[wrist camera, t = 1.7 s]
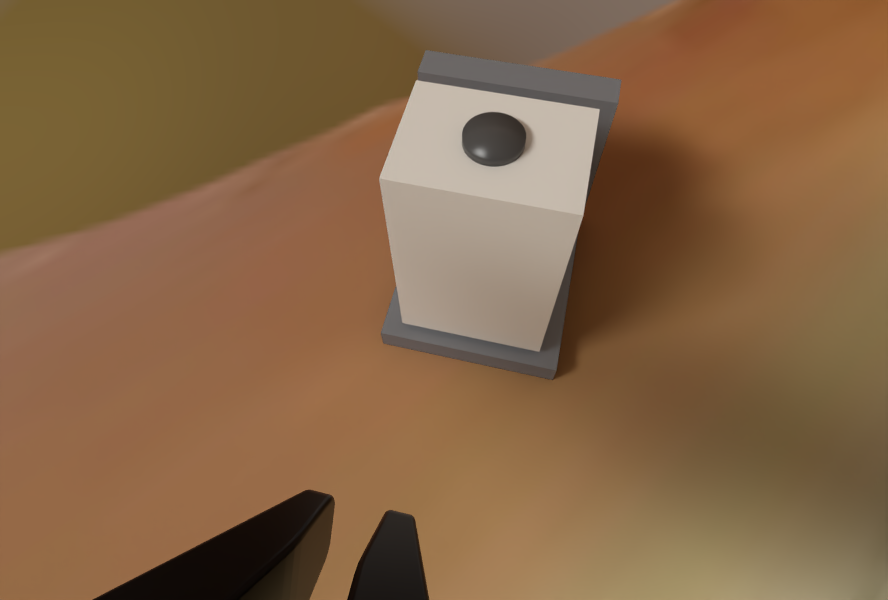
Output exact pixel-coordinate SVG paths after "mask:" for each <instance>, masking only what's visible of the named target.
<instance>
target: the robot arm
mask: <svg viewBox="0 0 888 600" xmlns="http://www.w3.org/2000/svg"><path fill="white" fill-rule="evenodd" d="M334 506H335V501H334V498H333V496H332V495H329V494H325V493H321V492H317V491H313V490H305V491H303V492H301V493H299V494H297V495H295V496H293V497H291V498H289V499H287V500H285V501H283V502H282V503H280V504H278V505H276V506H274V507H272V508H270V509H268V510H266V511H264V512H262V513H260V514H258V515H256V516H254V517H252V518H250V519H248V520H247V521H245V522H243V523H241V524H239V525H237V526H235V527H233V528H231V529H229V530H227V531H225V532H223V533H221V534H219V535H217V536H215V537H213V538H212V539H210V540H208V541H206V542H204V543H202V544H200V545H198V546H196V547H194V548H192V549H190V550H188V551H186V552H184V553H182V554H180V555H178V556H177V557H175V558H173V559H171V560H169V561H167V562H165V563H163V564H161V565H159V566H157V567H155V568H153V569H151V570H149V571H147V572H145V573H143V574H141V575H140V576H138V577H136V578H134V579H132V580H130V581H128V582H126V583H124V584H122V585H120V586H118V587H116V588H114V589H112V590H110V591H108V592H106V593H105V594H103V595H101V596H99V597H97V598H95V599H93V600H309V599H310V597H311V594H312V592H313V589H314V587H315V584H316V582H317V580H318V577H319V575H320V572H321V570H322V567H323V565H324V562H325V560H326V557H327V554H328V550H329V546H330V539H331V531H332V523H333V515H334ZM347 600H429V596H428V590H427V584H426V579H425V573H424V568H423V562H422V556H421V551H420V545H419V539H418V534H417V528H416V522H415V519H414V517H413V516H412V515H409V514H405V513H401V512H397V511H393V510H389V511H386V512H385V514H384V516H383V517H382V519H381V521H380V523H379V525H378V527H377V529H376V530H375V532H374V534H373V536H372V538H371V540H370V542H369V543H368V545H367V547H366V549H365V551H364V553H363V555H362V557H361V559H360V561H359V563H358V565H357V568H356V571H355V574H354V577H353V581H352V585H351V588H350V592H349V595H348V599H347Z"/></svg>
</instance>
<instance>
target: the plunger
mask: <svg viewBox="0 0 888 600" xmlns="http://www.w3.org/2000/svg"><path fill="white" fill-rule="evenodd" d="M599 111H600V109H595V108H589V107H583V106H576V105H570V104H564V103H557V102H551V101H545V100H538V99H532V98H526V97H519V96H513V95H507V94H500V93H494V92H488V91H481V90H475V89H469V88H462V87H456V86H450V85H444V84H437V83H431V82H425V81H418V80H417V81H416V82H415V85H414V88H413V90H412V93H411V96H410V98H409V101H408V104H407V106H406V109H405V111H404V114H403V117H402V119H401V122H400V125H399V127H398V130H397V133H396V135H395V138H394V141H393V143H392V146H391V149H390V151H389V154H388V157H387V159H386V162H385V164H384V167H383V170H382V172H381V175H380V178H379V181H380V187H381V193H382V199H383V205H384V212H385V218H386V224H387V230H388V236H389V243H390V249H391V255H392V261H393V268H394V274H395V280H396V286H397V292H398V299H399V305H400V311H401V317H402V323H405V324H410V325H414V326H419V327H424V328H429V329H433V330H438V331H443V332H448V333H452V334H457V335H462V336H467V337H471V338H476V339H481V340H485V341H490V342H495V343H500V344H504V345H509V346H514V347H519V348H523V349H528V350H533V351H538V352H539V351H540V348H541V345H542V342H543V339H544V336H545V333H546V329H547V326H548V323H549V320H550V317H551V314H552V311H553V308H554V305H555V302H556V299H557V295H558V292H559V289H560V286H561V283H562V280H563V277H564V274H565V271H566V268H567V265H568V261H569V258H570V255H571V252H572V249H573V246H574V243H575V240H576V237H577V234H578V231H579V227H580V224H581V221H582V218H583V215H584V208H585V202H586V195H587V189H588V182H589V176H590V169H591V163H592V156H593V150H594V143H595V137H596V131H597V124H598V118H599Z"/></svg>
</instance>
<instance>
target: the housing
mask: <svg viewBox="0 0 888 600" xmlns="http://www.w3.org/2000/svg"><path fill="white" fill-rule="evenodd" d="M418 81H425V82H431V83H437V84H444V85H450V86H456V87H462V88H469V89H475V90H481V91H488V92H494V93H500V94H507V95H513V96H519V97H526V98H532V99H538V100H545V101H551V102H557V103H564V104H570V105H576V106H583V107H589V108H595V109H600V111H599V118H598V124H597V131H596V137H595V143H594V150H593V156H592V163H591V169H590V176H589V182H588V189H587V195H586V202H587V199H588V196H589V193H590V189H591V186H592V183H593V180H594V177H595V174H596V171H597V168H598V165H599V161H600V158H601V155H602V152H603V149H604V146H605V143H606V140H607V136H608V133H609V130H610V127H611V124H612V121H613V118H614V115H615V112H616V108H617V105H618V101H619V93H620V86H621V80H619V79H613V78H606V77H600V76H593V75H586V74H580V73H573V72H567V71H560V70H553V69H547V68H540V67H534V66H527V65H520V64H514V63H507V62H500V61H494V60H487V59H481V58H474V57H467V56H461V55H454V54H448V53H440V52H434V51H428V50H426V51H425V54H424V56H423V59H422V62H421V65H420V67H419V70H418ZM586 202H585V205H586ZM577 237H578V234H577ZM577 237H576V240H575V243H574V246H573V249H572V252H571V255H570V258H569V261H568V265H567V268H566V271H565V274H564V277H563V280H562V283H561V286H560V289H559V292H558V295H557V299H556V302H555V305H554V308H553V311H552V314H551V317H550V320H549V323H548V326H547V329H546V333H545V336H544V339H543V342H542V345H541V348H540V351H539V352H538V351H533V350H528V349H523V348H519V347H514V346H509V345H504V344H500V343H495V342H490V341H485V340H481V339H476V338H471V337H467V336H462V335H457V334H452V333H448V332H443V331H438V330H433V329H429V328H424V327H419V326H414V325H410V324H405V323H402V317H401V311H400V305H399V299H398V292H397V286H396V287H395V291H394V294H393V297H392V300H391V303H390V306H389V309H388V312H387V315H386V318H385V322H384V325H383V328H382V331H381V336H382V340H383V343H384V344H389V345H394V346H398V347H403V348H408V349H412V350H417V351H421V352H426V353H431V354H435V355H440V356H445V357H449V358H454V359H458V360H463V361H468V362H472V363H477V364H482V365H486V366H491V367H495V368H500V369H505V370H509V371H514V372H519V373H523V374H528V375H532V376H537V377H542V378H546V379H551V380H553V378H554V375H555V373H556V370H557V364H558V358H559V351H560V345H561V338H562V332H563V326H564V319H565V313H566V307H567V300H568V294H569V287H570V281H571V275H572V268H573V262H574V256H575V249H576V243H577Z"/></svg>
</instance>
